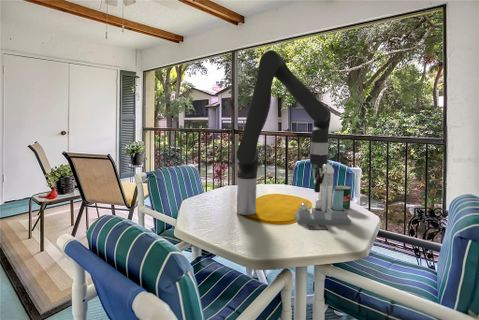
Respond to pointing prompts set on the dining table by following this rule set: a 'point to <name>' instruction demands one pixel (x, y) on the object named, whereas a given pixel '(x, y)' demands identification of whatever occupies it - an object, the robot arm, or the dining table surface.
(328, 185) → the water bottle
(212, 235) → the dining table surface
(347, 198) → the canned tomato
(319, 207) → the plunger
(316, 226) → the rubber mat
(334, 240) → the dining table surface
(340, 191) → the blue capsule with label
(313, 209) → the filter housing
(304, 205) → the plunger
